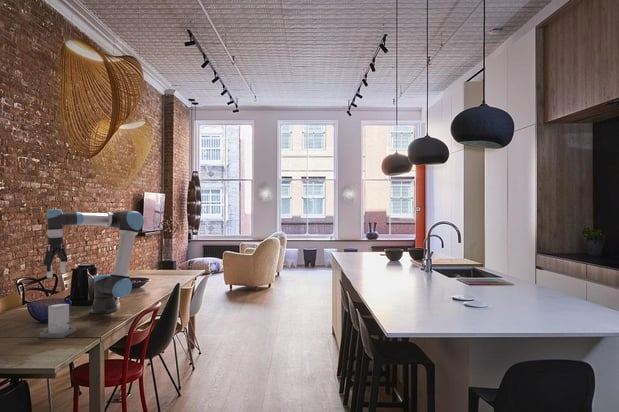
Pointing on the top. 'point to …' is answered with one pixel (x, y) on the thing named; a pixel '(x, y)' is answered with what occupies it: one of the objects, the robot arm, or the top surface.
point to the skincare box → (58, 318)
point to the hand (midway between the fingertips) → (56, 275)
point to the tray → (57, 335)
